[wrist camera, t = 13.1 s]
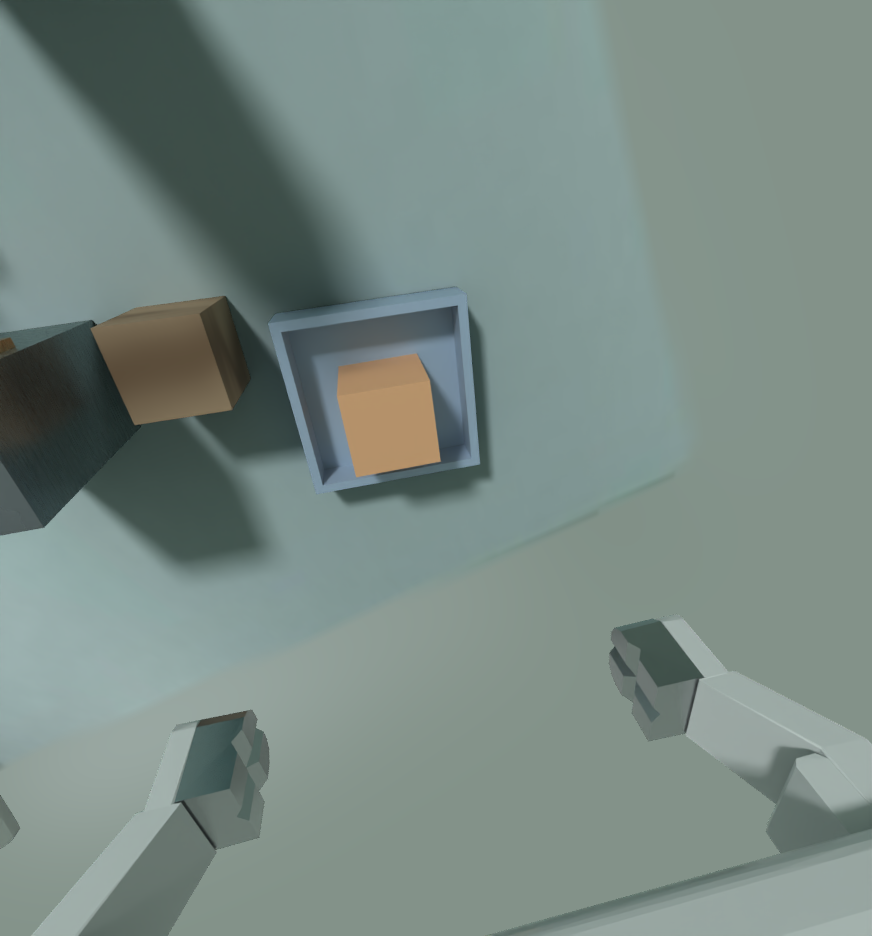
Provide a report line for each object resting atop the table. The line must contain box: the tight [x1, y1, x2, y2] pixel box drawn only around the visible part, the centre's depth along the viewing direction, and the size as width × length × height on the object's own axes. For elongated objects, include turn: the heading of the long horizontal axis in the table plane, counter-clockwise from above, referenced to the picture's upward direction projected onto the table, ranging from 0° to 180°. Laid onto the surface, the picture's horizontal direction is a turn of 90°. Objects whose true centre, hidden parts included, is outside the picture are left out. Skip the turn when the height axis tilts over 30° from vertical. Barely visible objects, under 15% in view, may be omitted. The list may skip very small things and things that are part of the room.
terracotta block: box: [337, 353, 441, 477], centre depth 26 cm, size 4×4×5 cm
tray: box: [268, 287, 480, 494], centre depth 27 cm, size 10×10×3 cm
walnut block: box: [90, 296, 251, 425], centre depth 23 cm, size 4×4×5 cm
